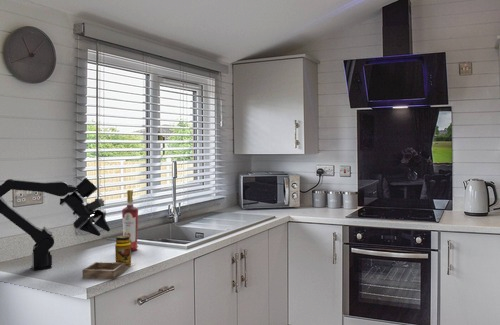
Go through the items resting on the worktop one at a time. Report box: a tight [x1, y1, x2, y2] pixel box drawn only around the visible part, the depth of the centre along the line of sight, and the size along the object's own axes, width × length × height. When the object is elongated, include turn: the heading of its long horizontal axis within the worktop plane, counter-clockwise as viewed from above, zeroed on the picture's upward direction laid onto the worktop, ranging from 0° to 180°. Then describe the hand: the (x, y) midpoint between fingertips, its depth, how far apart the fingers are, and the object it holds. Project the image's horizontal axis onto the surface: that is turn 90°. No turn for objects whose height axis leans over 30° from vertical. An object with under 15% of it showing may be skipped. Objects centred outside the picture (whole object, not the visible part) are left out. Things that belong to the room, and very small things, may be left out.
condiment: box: [114, 235, 135, 269], centre depth 182 cm, size 7×8×12 cm
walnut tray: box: [81, 261, 127, 280], centre depth 170 cm, size 12×11×3 cm
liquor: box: [121, 189, 139, 252], centre depth 208 cm, size 7×7×28 cm
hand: (104, 233), depth 182 cm, fingers open, 9 cm apart
